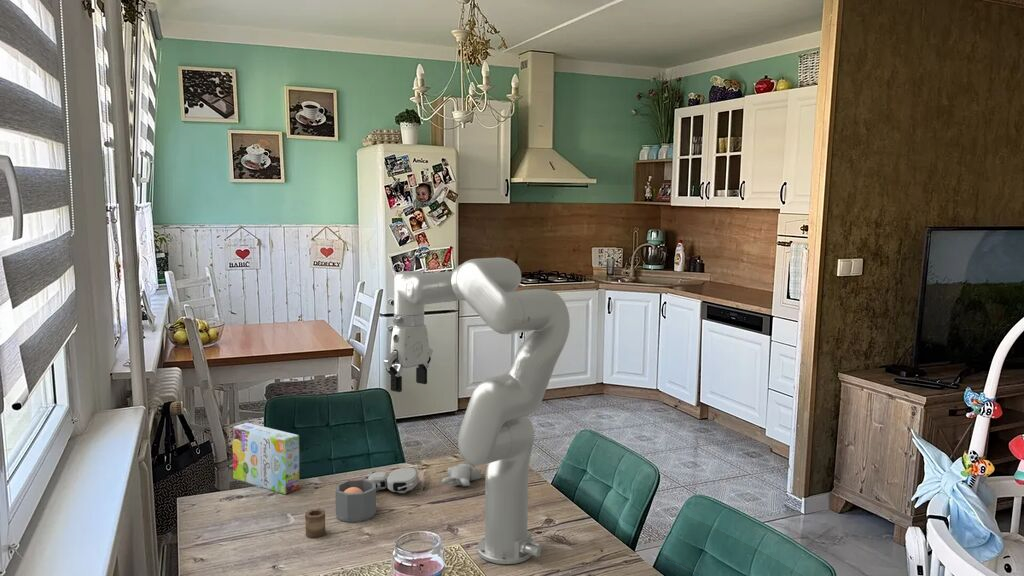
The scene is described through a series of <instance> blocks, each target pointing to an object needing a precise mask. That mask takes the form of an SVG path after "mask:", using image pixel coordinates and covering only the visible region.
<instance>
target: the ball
mask: <svg viewBox="0 0 1024 576" xmlns="http://www.w3.org/2000/svg"><path fill="white" fill-rule="evenodd" d="M344 492H345V493H348V494H351V493H363V491H362V490H361V489H359V488H357V487H351V488H348V489H346V490H345V491H344Z"/></svg>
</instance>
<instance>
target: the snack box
mask: <svg viewBox="0 0 1024 576" xmlns="http://www.w3.org/2000/svg"><path fill="white" fill-rule="evenodd" d="M231 428H232V429H231V430H232V432H231V433H232V436H231V437H232V474H233V475H232V477H233V478H232V479H234V480H238V481H240V482H244V483H248V484H251V485H253V486H257V487H260V488H263V489H266V490H269V491H270V490H271V491H272V492H276V493H280V494H282V495H287V494H289V493H292V492H295V491H297V490H300V435H299V434H295V433H291V432H287V431H283V430H279V429H275V428H271V427H267V426H263V425H259V424H254V423H250V422H245V423H240V424H238V425H235V426H232V427H231Z"/></svg>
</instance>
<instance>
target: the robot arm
mask: <svg viewBox="0 0 1024 576" xmlns="http://www.w3.org/2000/svg"><path fill="white" fill-rule="evenodd" d="M521 281H522V272H521V269H520V267H519V266H518V264H517V263H515V262H514V261H513V260H511V259H510V258H507V257H505V258H504V257H486V258H485V257H484V258H483V257H482V258H472V259H469V260H466V261H464V262H463V263H461V264H459V265H458V266H457V267H455V268H454V269H453V270H450V271H449V270H448V271H437V272H436V271H435V272H434V271H433V272H425V273H422V272H420V271H415V270H402V271H398V272H396V273H394V277H393V320H392V322H393V328H392V331H391V332H392V334H391V342H390V354H389V355H388V356H387V357H386V358H385V359H384V360H383V364H384V367H385V370H386V372H387V373H388V376H390V391H391V392H395V393H402V392H403V376H402V375H401V373H402V372H403V370H404V369H409V368H413V367H416V368H415V369H416V370H415V373H416V374H415V382H416V384H422V385H427V384H428V369H429V367H430V365H429V364H430V362H431V361H432V355H433V351H434V350H433V349H432V348H430V346H429V334H428V329H427V325H426V324H425V306H426V305H430V304H431V305H432V304H439V303H440V304H441V303H450V302H452V303H453V302H457V301H465V302H466V303H467V304H468V305H469V306H470V308H471V309H473V311H474V312H475V313H476V314H477V315H478V316H479V317H480V319H482V321H483V322H485V324H486V325H487V326H488V327H489V328H490V329H491V330H493V331H495V332H496V333H498V334H501V335H514V334H520V333H528V332H530V333H529V335H528V336H527V337H526V339H524V341H522V343H521V345H520V346H519V347H518V349H517V350H516V352H515V356H514V359H513V362H512V364H511V366H510V368H509V369H508V371H506V373H504V374H501V375H495V376H492V377H489V378H486V379H484V380H482V381H481V382H480V383H478V384H477V385H476V387H475V388H474V389H473V391H472V393H471V396H470V398H469V401H468V405H467V408H466V410H465V412H464V415H463V420H462V422H461V425H460V428H459V433H458V437H457V445H458V452H459V454H460V456H461V458H462V459H463V460H464V462H466V464H471V465H474V467H478V466H480V467H482V466H484V465H487V466H486V470H485V477H484V479H485V482H484V485H485V486H484V537H483V538H482V539H481V540H480V541H479V542H478V543H477V554H478V555H479V556H480V557H481V558H482V559H483V560H485V561H487V562H489V563H493V564H499V565H515V564H521V563H523V562H526V561H527V560H529V559H530V558H531V557H532V556H533V557H535V558H536V557H538V558H539V557H540V555H541V554H542V545H543V544H542V543H541V542H539V541H534V540H533V537H532V536H533V535H532V534H533V533H532V531H531V532H530V531H528V518H529V516H528V514H529V513H528V511H529V478H530V477H529V476H530V474H529V473H530V461H531V455H532V450H533V445H534V439H535V430H534V424H533V423H532V421H531V419H530V417H528V416H530V415H532V414H535V412H536V411H537V410H538V409H539V407H540V406H541V404H542V401H543V399H544V396H545V393H546V391H547V388H548V386H549V383H550V381H551V378H552V375H553V372H554V370H555V367H556V365H557V362H558V360H559V358H560V356H561V354H562V352H563V350H564V347H565V346H566V343H567V340H568V337H569V334H570V326H571V325H570V324H571V321H570V313H569V309H568V307H567V305H566V303H565V300H564V299H563V298H562V297H561V295H559V294H558V293H557V292H556V291H553V290H550V289H543V288H534V289H524V290H523V289H522V290H517V289H518V288H519V286H520V284H521Z"/></svg>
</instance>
